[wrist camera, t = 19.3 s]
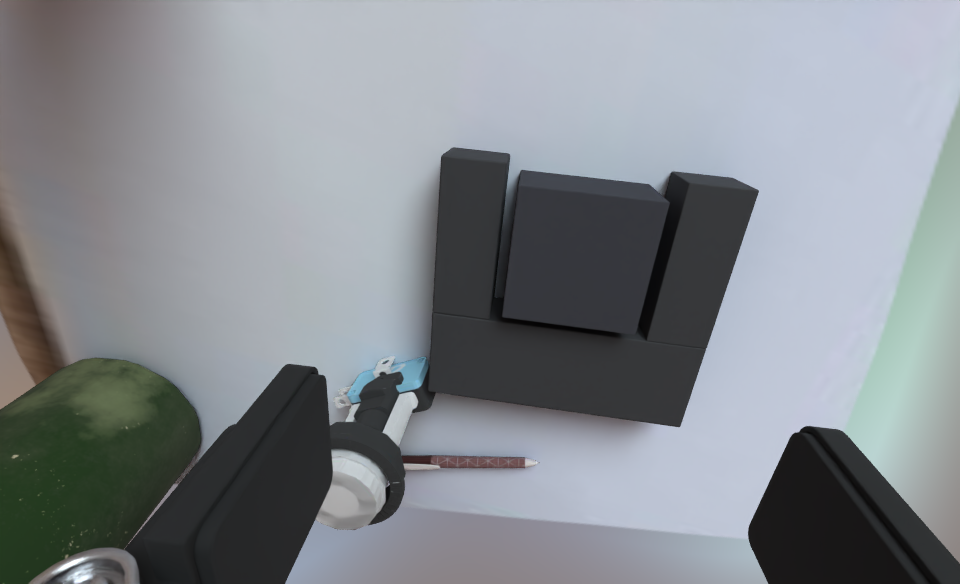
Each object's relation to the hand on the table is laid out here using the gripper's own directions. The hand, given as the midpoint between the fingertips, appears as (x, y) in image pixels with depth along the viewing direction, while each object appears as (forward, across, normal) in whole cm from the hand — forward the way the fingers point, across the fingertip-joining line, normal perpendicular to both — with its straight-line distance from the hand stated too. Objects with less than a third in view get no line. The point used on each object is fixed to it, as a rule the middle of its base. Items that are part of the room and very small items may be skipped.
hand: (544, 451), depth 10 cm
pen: (+17, +3, +17) cm, 24 cm away
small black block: (+17, -2, +1) cm, 17 cm away
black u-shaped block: (+17, -2, +3) cm, 17 cm away
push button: (+17, +8, +11) cm, 22 cm away
